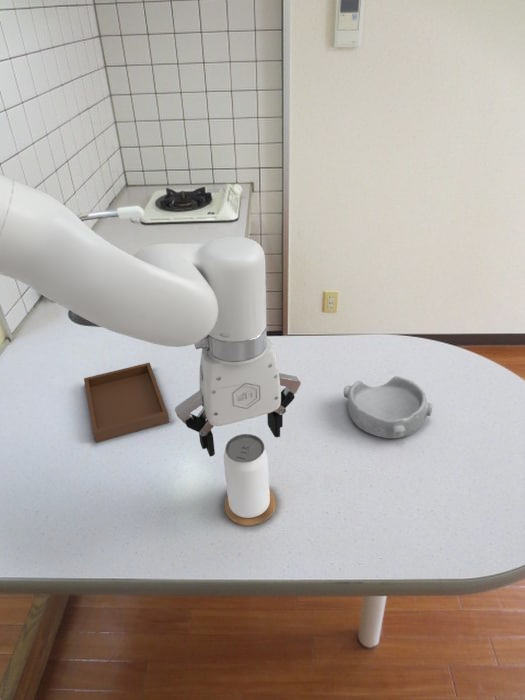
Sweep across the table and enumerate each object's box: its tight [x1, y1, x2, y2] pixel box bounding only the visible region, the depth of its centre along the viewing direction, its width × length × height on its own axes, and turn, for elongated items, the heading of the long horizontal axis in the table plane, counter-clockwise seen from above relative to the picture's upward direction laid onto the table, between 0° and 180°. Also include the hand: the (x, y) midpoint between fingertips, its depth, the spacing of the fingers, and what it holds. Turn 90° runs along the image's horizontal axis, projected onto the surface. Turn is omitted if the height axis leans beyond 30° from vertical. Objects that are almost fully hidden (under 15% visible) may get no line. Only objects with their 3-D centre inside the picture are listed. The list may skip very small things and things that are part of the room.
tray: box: [83, 362, 170, 444], centre depth 103 cm, size 18×14×2 cm
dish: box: [343, 375, 433, 439], centre depth 96 cm, size 14×14×5 cm
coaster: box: [224, 488, 277, 527], centre depth 82 cm, size 8×8×1 cm
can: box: [223, 433, 270, 518], centre depth 79 cm, size 6×6×12 cm
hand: (242, 440), depth 74 cm, fingers open, 9 cm apart
